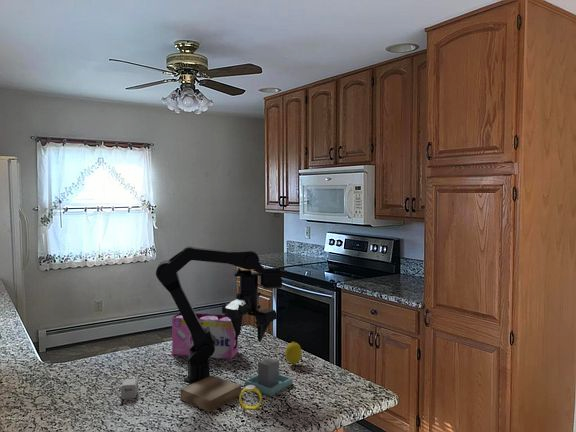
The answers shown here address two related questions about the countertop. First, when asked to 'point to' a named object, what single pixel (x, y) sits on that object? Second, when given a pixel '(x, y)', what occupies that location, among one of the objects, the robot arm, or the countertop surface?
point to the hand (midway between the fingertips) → (248, 338)
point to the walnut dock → (210, 393)
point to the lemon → (293, 353)
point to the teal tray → (282, 385)
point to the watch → (249, 389)
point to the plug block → (268, 372)
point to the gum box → (219, 329)
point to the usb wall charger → (129, 388)
